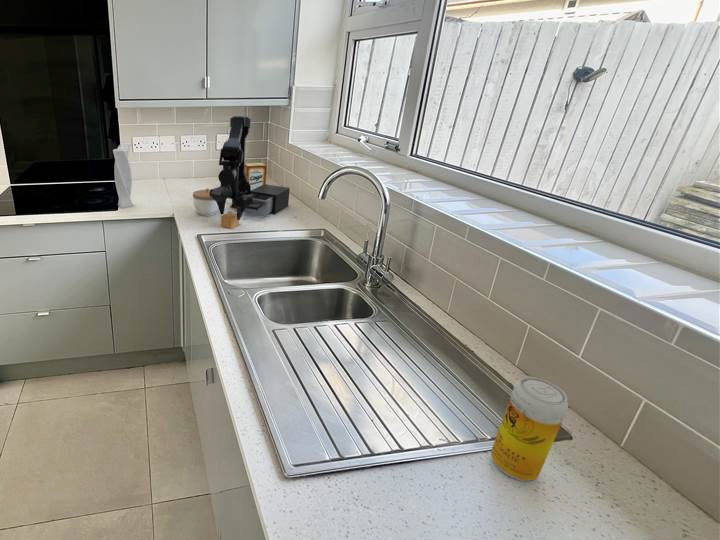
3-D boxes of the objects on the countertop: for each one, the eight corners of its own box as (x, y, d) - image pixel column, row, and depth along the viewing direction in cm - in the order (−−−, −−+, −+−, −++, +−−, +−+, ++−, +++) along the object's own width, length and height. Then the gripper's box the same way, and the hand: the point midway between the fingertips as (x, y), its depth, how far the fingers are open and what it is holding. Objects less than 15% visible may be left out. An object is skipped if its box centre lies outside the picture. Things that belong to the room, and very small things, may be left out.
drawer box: (275, 214, 175) (276, 195, 172) (249, 209, 181) (249, 190, 178) (288, 205, 186) (289, 187, 183) (263, 201, 193) (264, 184, 189)
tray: (261, 219, 166) (262, 204, 163) (237, 215, 172) (237, 199, 169) (279, 208, 179) (280, 194, 177) (256, 204, 185) (256, 190, 183)
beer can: (480, 450, 65) (506, 376, 59) (515, 447, 66) (544, 373, 60) (509, 485, 59) (541, 407, 54) (548, 482, 60) (583, 404, 54)
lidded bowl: (192, 209, 182) (191, 185, 178) (220, 208, 183) (220, 184, 179) (193, 218, 170) (193, 193, 166) (223, 217, 171) (224, 192, 167)
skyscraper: (130, 202, 192) (125, 142, 182) (137, 205, 187) (132, 144, 176) (114, 204, 188) (109, 143, 178) (121, 208, 182) (115, 146, 172)
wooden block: (220, 226, 161) (220, 216, 159) (228, 222, 166) (228, 212, 164) (231, 228, 159) (231, 218, 157) (238, 224, 163) (239, 214, 162)
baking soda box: (246, 197, 199) (247, 165, 193) (243, 194, 205) (244, 162, 199) (264, 197, 200) (266, 164, 194) (261, 193, 206) (262, 162, 200)
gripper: (199, 177, 156) (199, 216, 162) (233, 186, 144) (232, 228, 149) (219, 173, 163) (219, 210, 169) (254, 181, 150) (252, 221, 156)
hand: (230, 217), depth 161 cm, fingers open, 9 cm apart
